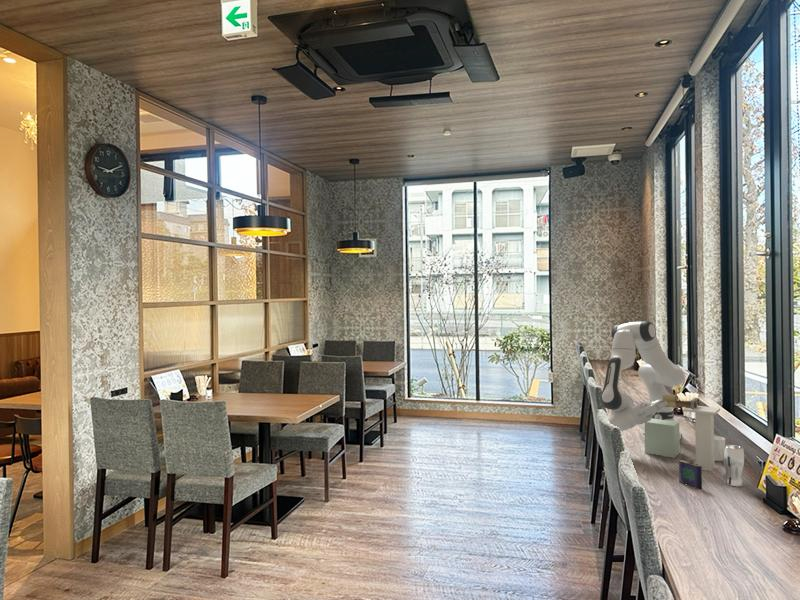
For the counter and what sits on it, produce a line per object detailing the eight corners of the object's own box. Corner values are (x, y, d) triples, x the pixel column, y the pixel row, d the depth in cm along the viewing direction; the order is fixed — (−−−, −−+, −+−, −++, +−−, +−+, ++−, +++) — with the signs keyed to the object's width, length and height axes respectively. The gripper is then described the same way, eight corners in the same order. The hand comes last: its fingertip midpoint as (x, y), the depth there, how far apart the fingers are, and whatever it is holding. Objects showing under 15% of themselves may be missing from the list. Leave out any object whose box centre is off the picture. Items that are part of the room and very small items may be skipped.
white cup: (703, 459, 243) (703, 437, 243) (707, 455, 248) (707, 434, 249) (723, 462, 237) (723, 440, 237) (727, 458, 243) (726, 437, 243)
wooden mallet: (666, 405, 242) (665, 394, 243) (697, 406, 234) (696, 395, 234) (663, 406, 238) (662, 395, 239) (695, 408, 230) (694, 396, 230)
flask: (677, 482, 212) (677, 455, 212) (682, 481, 213) (682, 455, 213) (699, 489, 204) (699, 462, 204) (704, 488, 205) (704, 461, 205)
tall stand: (690, 461, 239) (689, 396, 239) (720, 467, 231) (720, 399, 231) (684, 468, 230) (683, 400, 230) (715, 473, 222) (714, 403, 222)
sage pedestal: (650, 448, 261) (650, 418, 261) (679, 453, 253) (679, 422, 253) (644, 452, 253) (644, 421, 254) (674, 457, 245) (674, 425, 245)
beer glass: (726, 480, 214) (726, 443, 214) (746, 484, 209) (745, 446, 209) (721, 484, 209) (721, 446, 209) (741, 488, 204) (741, 450, 204)
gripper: (632, 410, 240) (660, 397, 232) (645, 403, 255) (672, 391, 248) (639, 423, 238) (668, 411, 230) (652, 415, 253) (679, 403, 245)
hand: (670, 400), depth 239 cm, fingers open, 8 cm apart
